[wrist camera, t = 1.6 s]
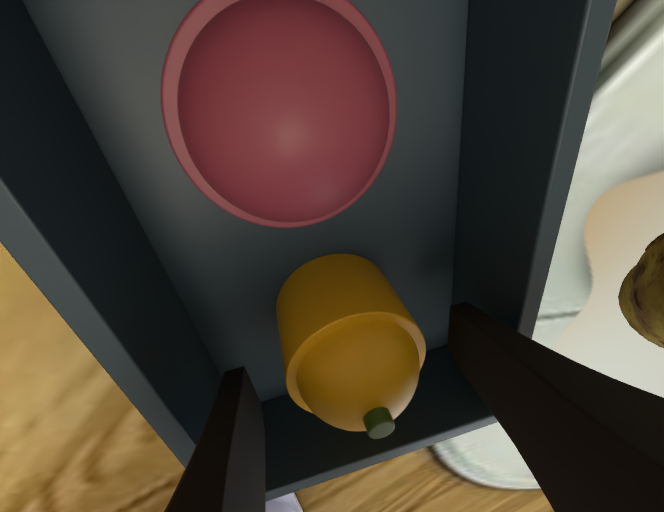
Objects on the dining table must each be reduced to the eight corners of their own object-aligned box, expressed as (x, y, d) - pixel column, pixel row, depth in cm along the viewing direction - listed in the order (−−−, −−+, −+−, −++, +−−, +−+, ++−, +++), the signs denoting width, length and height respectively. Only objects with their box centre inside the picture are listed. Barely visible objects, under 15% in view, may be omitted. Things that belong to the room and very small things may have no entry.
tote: (229, 410, 16) (224, 517, 12) (-29, -51, 7) (-359, -194, 3) (454, 341, 18) (512, 417, 14) (485, -116, 8) (688, -271, 5)
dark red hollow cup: (220, 206, 10) (204, 299, 6) (151, 17, 8) (42, -40, 4) (366, 172, 11) (441, 236, 7) (347, -15, 8) (451, -96, 4)
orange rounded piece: (290, 357, 15) (312, 498, 10) (261, 271, 12) (273, 406, 7) (390, 327, 15) (457, 448, 10) (382, 239, 13) (468, 345, 8)
